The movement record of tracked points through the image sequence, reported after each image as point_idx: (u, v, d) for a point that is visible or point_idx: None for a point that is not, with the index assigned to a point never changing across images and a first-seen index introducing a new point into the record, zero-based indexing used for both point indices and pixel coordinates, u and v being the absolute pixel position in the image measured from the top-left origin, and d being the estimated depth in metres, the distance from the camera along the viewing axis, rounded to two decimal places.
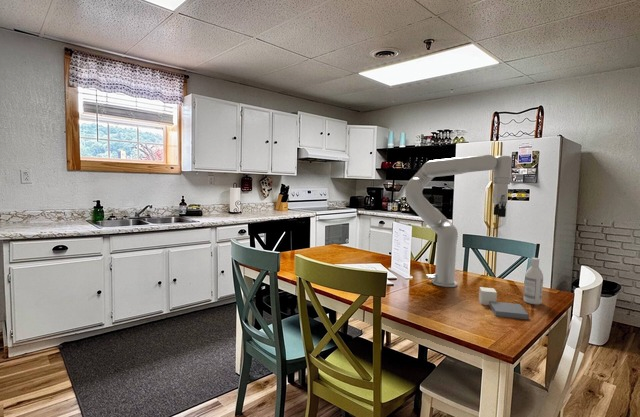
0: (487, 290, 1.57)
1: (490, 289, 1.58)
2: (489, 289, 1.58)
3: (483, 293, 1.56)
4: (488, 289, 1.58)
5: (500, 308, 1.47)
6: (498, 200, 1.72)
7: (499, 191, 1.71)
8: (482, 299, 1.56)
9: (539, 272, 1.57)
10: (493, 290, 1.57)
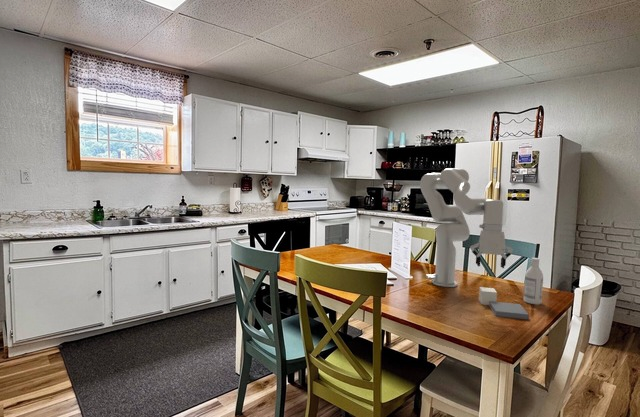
0: (487, 290, 1.57)
1: (490, 289, 1.58)
2: (489, 289, 1.58)
3: (483, 293, 1.56)
4: (488, 289, 1.58)
5: (500, 308, 1.47)
6: (504, 250, 1.53)
7: (504, 240, 1.53)
8: (482, 299, 1.56)
9: (539, 272, 1.57)
10: (493, 290, 1.57)
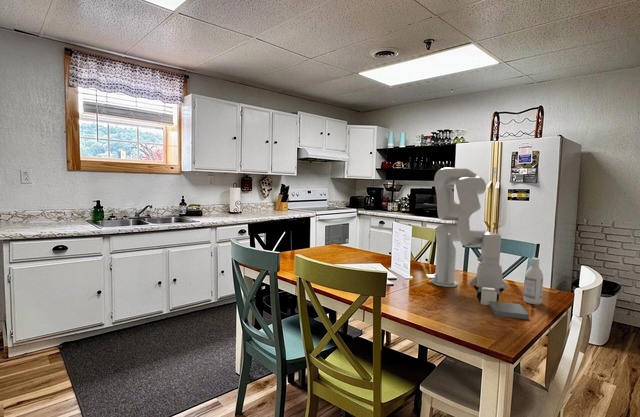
0: (487, 290, 1.57)
1: (490, 289, 1.58)
2: (489, 289, 1.58)
3: (483, 293, 1.56)
4: (488, 289, 1.58)
5: (500, 308, 1.47)
6: None
7: None
8: (482, 299, 1.56)
9: (539, 272, 1.57)
10: (493, 290, 1.57)
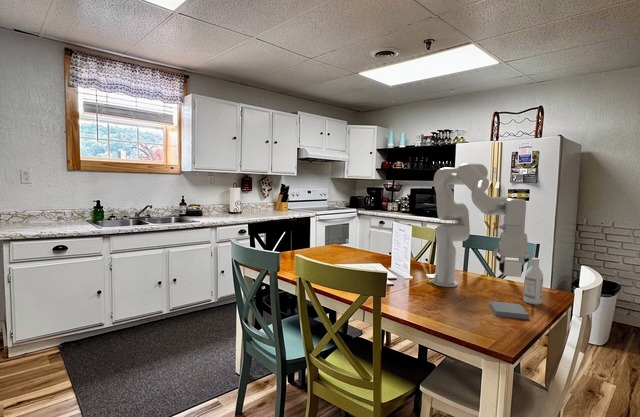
0: (510, 260, 1.44)
1: (514, 260, 1.46)
2: (513, 260, 1.46)
3: (507, 263, 1.43)
4: (512, 259, 1.46)
5: (500, 308, 1.47)
6: None
7: (527, 242, 1.42)
8: (505, 270, 1.44)
9: (539, 272, 1.57)
10: (517, 260, 1.45)
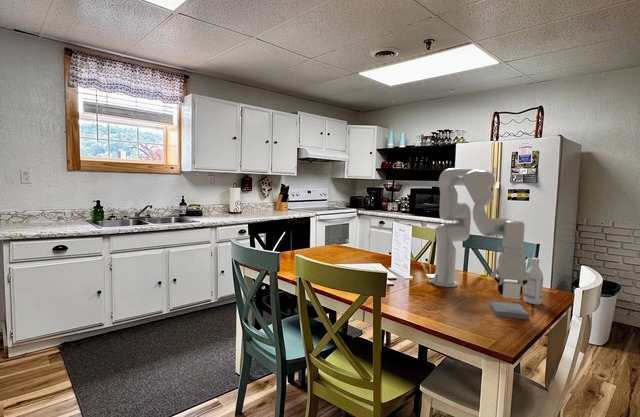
0: (509, 282, 1.45)
1: (513, 281, 1.47)
2: (512, 281, 1.46)
3: (505, 285, 1.44)
4: (510, 281, 1.47)
5: (500, 308, 1.47)
6: (525, 275, 1.43)
7: None
8: (504, 292, 1.44)
9: (539, 272, 1.57)
10: (516, 282, 1.45)
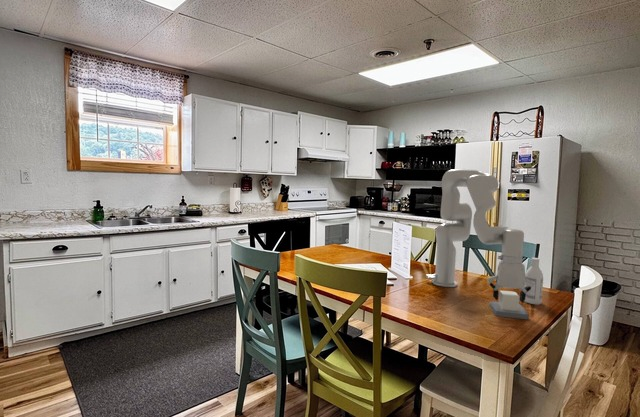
0: (508, 294, 1.46)
1: (511, 293, 1.47)
2: (511, 293, 1.47)
3: (504, 297, 1.45)
4: (509, 293, 1.47)
5: (500, 308, 1.47)
6: None
7: None
8: (503, 303, 1.45)
9: (539, 272, 1.57)
10: (515, 294, 1.46)
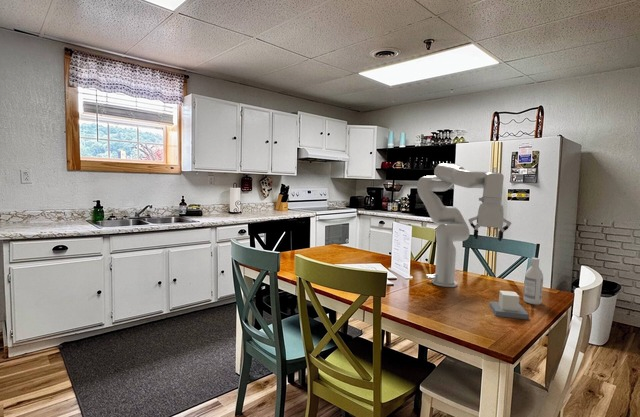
0: (508, 294, 1.46)
1: (511, 293, 1.47)
2: (511, 293, 1.47)
3: (504, 297, 1.45)
4: (509, 293, 1.47)
5: (500, 308, 1.47)
6: (502, 223, 1.55)
7: None
8: (503, 303, 1.45)
9: (539, 272, 1.57)
10: (515, 294, 1.46)
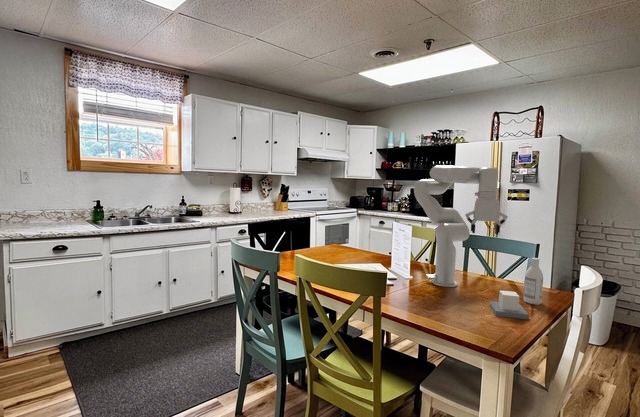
0: (508, 294, 1.46)
1: (511, 293, 1.47)
2: (511, 293, 1.47)
3: (504, 297, 1.45)
4: (509, 293, 1.47)
5: (500, 308, 1.47)
6: None
7: None
8: (503, 303, 1.45)
9: (539, 272, 1.57)
10: (515, 294, 1.46)
